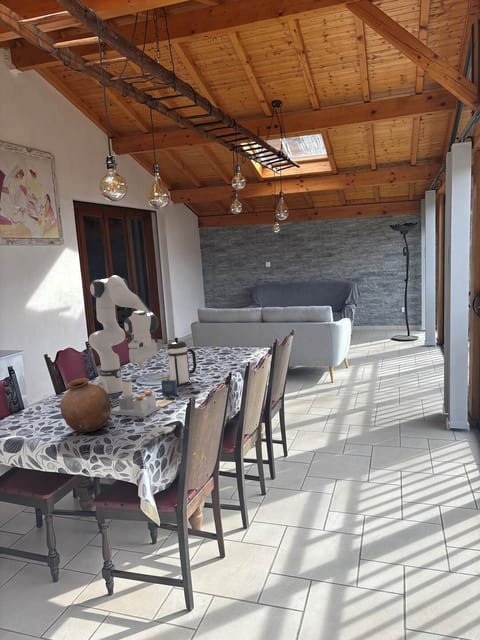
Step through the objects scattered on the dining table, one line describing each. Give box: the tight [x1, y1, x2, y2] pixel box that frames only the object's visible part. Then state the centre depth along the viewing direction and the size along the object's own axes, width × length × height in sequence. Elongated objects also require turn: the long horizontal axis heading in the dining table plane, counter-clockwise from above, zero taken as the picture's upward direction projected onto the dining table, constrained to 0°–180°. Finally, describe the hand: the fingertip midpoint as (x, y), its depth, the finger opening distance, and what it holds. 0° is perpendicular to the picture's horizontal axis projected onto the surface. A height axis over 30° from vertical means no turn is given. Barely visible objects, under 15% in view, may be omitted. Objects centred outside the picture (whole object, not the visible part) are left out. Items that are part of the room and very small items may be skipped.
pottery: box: [59, 377, 112, 433], centre depth 228 cm, size 23×23×25 cm
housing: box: [110, 392, 161, 418], centre depth 253 cm, size 22×14×8 cm, turn 65°
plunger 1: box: [135, 394, 145, 401], centre depth 246 cm, size 4×4×7 cm
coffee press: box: [165, 336, 197, 388], centre depth 300 cm, size 17×16×30 cm
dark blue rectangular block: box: [160, 376, 178, 396], centre depth 278 cm, size 9×3×11 cm, turn 78°
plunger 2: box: [143, 389, 153, 396], centre depth 253 cm, size 4×4×7 cm
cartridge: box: [122, 378, 133, 398], centre depth 254 cm, size 5×5×15 cm
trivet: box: [156, 399, 174, 409], centre depth 262 cm, size 10×10×1 cm
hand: (145, 367), depth 251 cm, fingers open, 5 cm apart
